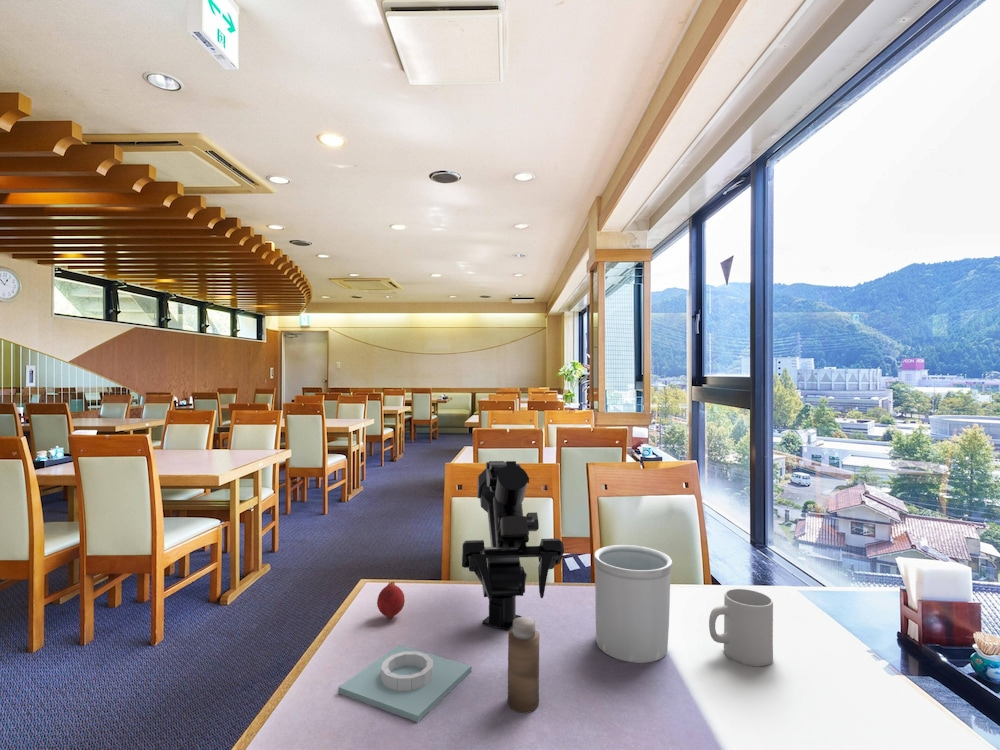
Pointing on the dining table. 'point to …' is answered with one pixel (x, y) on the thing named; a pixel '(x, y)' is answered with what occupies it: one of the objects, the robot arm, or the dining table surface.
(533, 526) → the robot arm
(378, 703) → the board
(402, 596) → the onion
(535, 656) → the pepper mill
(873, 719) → the dining table surface
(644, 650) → the utensil holder
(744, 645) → the mug
